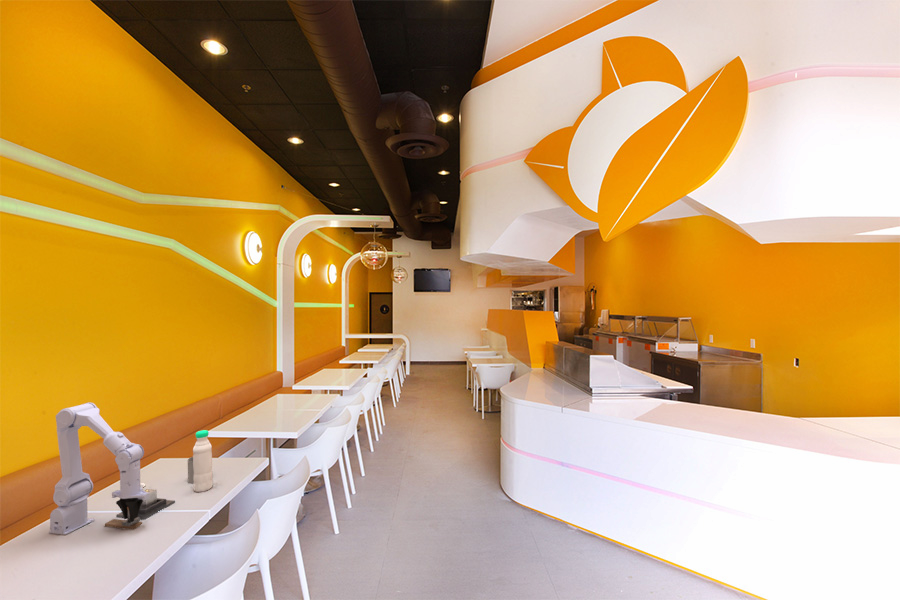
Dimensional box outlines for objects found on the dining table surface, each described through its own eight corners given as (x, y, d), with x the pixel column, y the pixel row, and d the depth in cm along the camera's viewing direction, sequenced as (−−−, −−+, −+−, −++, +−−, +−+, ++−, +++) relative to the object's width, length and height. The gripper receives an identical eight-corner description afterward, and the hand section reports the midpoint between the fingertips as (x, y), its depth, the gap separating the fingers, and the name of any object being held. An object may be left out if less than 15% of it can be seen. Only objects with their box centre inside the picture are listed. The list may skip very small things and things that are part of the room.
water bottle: (216, 485, 175) (215, 428, 176) (205, 492, 168) (203, 433, 169) (201, 485, 176) (200, 428, 177) (189, 492, 169) (188, 433, 170)
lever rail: (133, 529, 141) (133, 526, 141) (104, 526, 144) (104, 523, 144) (142, 524, 144) (142, 521, 144) (113, 521, 147) (113, 518, 147)
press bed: (144, 519, 148) (144, 513, 148) (116, 517, 150) (116, 510, 150) (175, 502, 160) (174, 496, 160) (148, 500, 163) (148, 494, 163)
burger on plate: (116, 499, 166) (116, 486, 166) (112, 490, 174) (112, 478, 175) (152, 489, 175) (151, 476, 175) (146, 481, 183) (146, 469, 183)
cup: (190, 478, 184) (189, 456, 184) (210, 474, 188) (210, 453, 188) (186, 485, 177) (186, 462, 177) (208, 481, 180) (207, 459, 180)
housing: (146, 510, 153) (145, 492, 153) (136, 509, 154) (136, 492, 154) (157, 504, 157) (156, 487, 157) (147, 504, 158) (147, 486, 158)
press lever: (130, 526, 141) (129, 506, 141) (122, 525, 142) (121, 506, 142) (140, 520, 145) (139, 501, 145) (131, 520, 145) (131, 501, 146)
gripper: (157, 476, 146) (157, 513, 146) (125, 474, 149) (125, 510, 149) (138, 485, 139) (139, 524, 139) (105, 482, 142) (106, 521, 142)
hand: (131, 518), depth 143 cm, fingers closed on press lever, 2 cm apart
